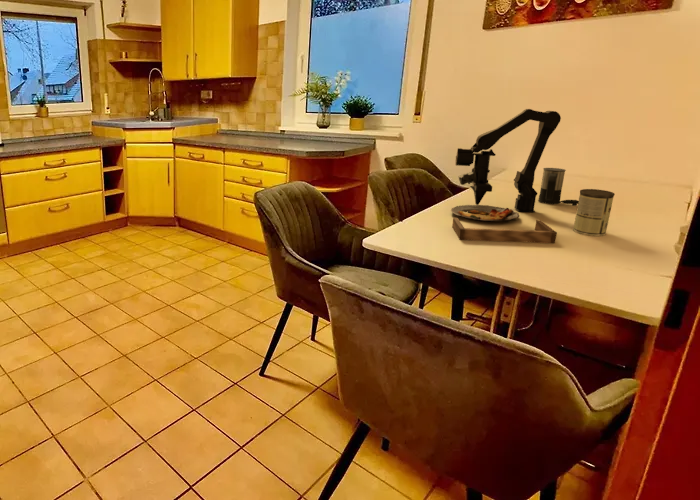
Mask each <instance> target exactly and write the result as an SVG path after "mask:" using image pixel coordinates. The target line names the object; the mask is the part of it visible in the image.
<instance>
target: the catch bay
mask: <svg viewBox="0 0 700 500" xmlns="http://www.w3.org/2000/svg"><path fill="white" fill-rule="evenodd" d="M451 227H452V229H453V231H454V233H455V234H456V236H457V238H458V240H460V241H482V242H483V241H484V242H487V241H489V242H509V243H510V242H512V243H513V242H515V243H516V242H517V243H535V244H536V243H538V244H539V243H540V244H541V243H543V244H544V243H545V244H556V240H557V234H558V233H557V231H555V230H554V229H552V228H551V227H550V226H549V225H548V224H546V223H545V222H544V221H543V220H539V219H538V220H536V221H535V226H534V227H535V228H534V230H529V229H504V228H503V229H501V228H471V227H466V228H465V226H464V225H463V223H462V222H461V221H460V220H459V218H458V217H452V225H451Z"/></svg>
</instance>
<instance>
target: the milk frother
mask: <svg viewBox="0 0 700 500" xmlns="http://www.w3.org/2000/svg"><path fill="white" fill-rule="evenodd" d="M542 169H543V173H542V178H541V179H542V180H541V185H540V189H539V190H540V192H539V195H538V200H537V201H538V202H539V203H542V204H547V205H548V204H549V205H559V204H564V205H565V204H567V205H572V206H573V207H576V206H577V207H578V202H579V200H577V199H563V200H561V196H562V190H563V184H564V177H565V173H566V171H567V170H566V169H565V168H559V167H558V168H557V167H543V168H542Z"/></svg>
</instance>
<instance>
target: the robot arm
mask: <svg viewBox="0 0 700 500" xmlns="http://www.w3.org/2000/svg"><path fill="white" fill-rule="evenodd" d="M561 119H562V118H561V114H560V113H559V112H558V111H554V110H547V111H544V112H543V111H539V110H534V109H532V108H525V109H524V110H522V111H521V112H520V113H518V114H517V115H515V116H514V117H512V118H510V119H509V120H507V121H506V122H504V123H502V124H501V125H500V126H498V127H496V128H494V129H492V130H489V131H486V132H483V133H482V134H479V135H478V136H477V138H476V140H475V143H474V144H473V145H472V146H471V147H470V148H461V147H460V148H459V147H458V148H457V151H456V156H455V166H457V167H458V166H459V167H462V166H463V167H470V166H471V165H473V167H472V169H471V172H470V171H469V172H466V173H463V174H460V175H458V180H459V184H460V185H462V186H463V185H466V184H468V185H471V186H469V187H470V189H472V191H473V194H474V196H473V197H474V202H475V204H474V205H480V203H481V201H482V200H483V198H484V196H485V195H486V194H487V193H488V192H489V193H490V192H491V193H492V192H493V185H491V183H489V179H488V178H489V177H488V176H489V173H490V168H489V167H490V160H491V157H495V156H496V153H495V152H494V150H493V148H492V147H493V146H494V145H496V143H498V142H499V141H500V139H501V138H503V137H504V136H506V135H507V134H509V133H510V132H512V131H514V130H516V129H517V128H518V127H520V126H522V125H523V124H525V123H526V122H528V121H534V122H539V123H538V131H537V135H536V138H535V140H534V143H533V145H532V147H531V150H530V152H529V155H528V157H527V158H526V163H525V165H524V167H523V168H522V169H521V171H519V170H517V171H516V175H515V178H514V179H513V182H514V184H513V185H514V188H515V189H516V190H517V192H518V194H517V197H516V198H515V201H514V202H515V204H514V209H515V210H516V212H517V211H518V213H519V212H520V213H536V210H535V206H536V197H537V196H538V192H537V191H536V190H535V188H534V187H533V185H534V182H535V172H536V171H537V167H538V165H539V163H540V160H541V158H542V155H543V152H544V151H545V148H546V146H547V144H548V141H549V138H550V137H551V135H552V134H553V133H554V132H555V130H556V129H557V128H558V126H559V124H560V123H561Z"/></svg>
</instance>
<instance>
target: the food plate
mask: <svg viewBox="0 0 700 500" xmlns="http://www.w3.org/2000/svg"><path fill="white" fill-rule="evenodd" d="M450 212H451V213H453V214H454V215H456V216H460V217H463V218H466V219H472V220H474V221H476V220H478V221H481V222H484V221H485V222H504V221H505V222H506V221H507V222H508V221H511V220H515V219H518V218H519V217H520V214H519V212H517V211H514V209H512V208H511V209H510V208H508V207H506V208H504V207H500V206H493V205H486V204H485V205H483V204H479V205H476V204H465V205H464V204H463V205H456V206H454V207H451V209H450ZM489 212H490V213H489Z"/></svg>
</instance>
